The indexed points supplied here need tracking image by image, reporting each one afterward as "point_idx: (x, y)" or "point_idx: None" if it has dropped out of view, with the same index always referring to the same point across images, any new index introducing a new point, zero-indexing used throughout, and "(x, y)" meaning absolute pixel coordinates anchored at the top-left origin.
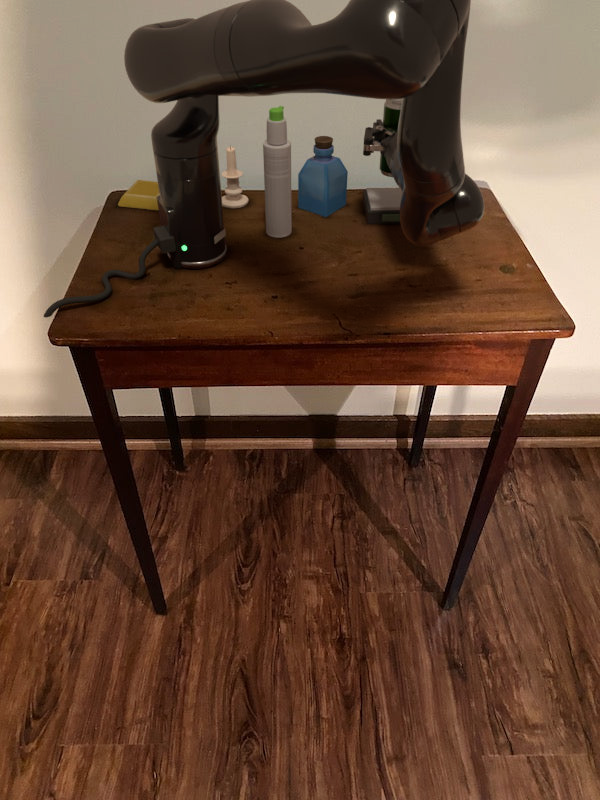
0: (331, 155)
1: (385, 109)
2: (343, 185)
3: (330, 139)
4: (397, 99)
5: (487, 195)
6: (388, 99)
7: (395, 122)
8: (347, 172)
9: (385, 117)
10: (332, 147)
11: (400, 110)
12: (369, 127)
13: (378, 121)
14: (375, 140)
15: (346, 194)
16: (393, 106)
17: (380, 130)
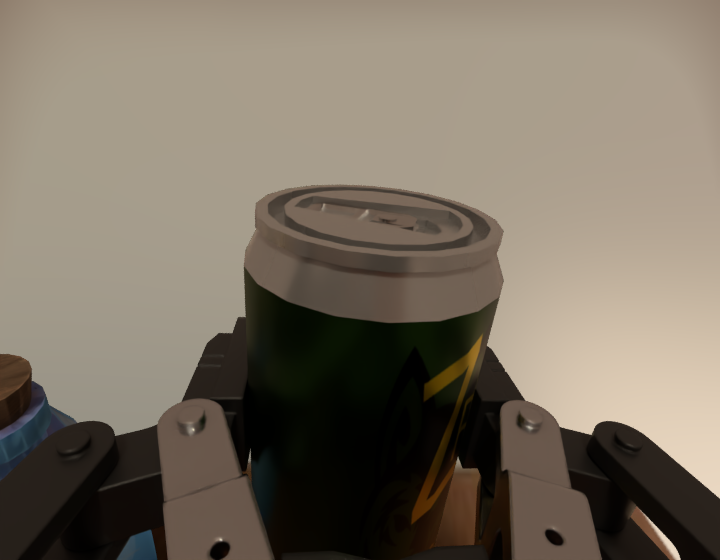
0: (24, 455)
1: (245, 288)
2: (123, 549)
3: (3, 388)
4: (342, 220)
5: (645, 518)
6: (264, 214)
7: (315, 410)
8: None
9: (248, 344)
10: (17, 426)
11: (358, 326)
12: (74, 438)
13: (235, 338)
14: (147, 527)
15: (156, 557)
16: (294, 280)
17: (163, 484)
